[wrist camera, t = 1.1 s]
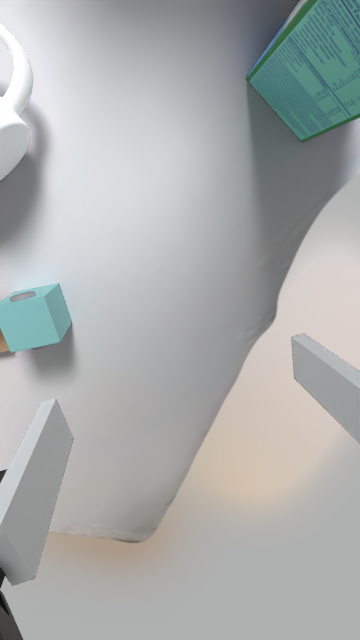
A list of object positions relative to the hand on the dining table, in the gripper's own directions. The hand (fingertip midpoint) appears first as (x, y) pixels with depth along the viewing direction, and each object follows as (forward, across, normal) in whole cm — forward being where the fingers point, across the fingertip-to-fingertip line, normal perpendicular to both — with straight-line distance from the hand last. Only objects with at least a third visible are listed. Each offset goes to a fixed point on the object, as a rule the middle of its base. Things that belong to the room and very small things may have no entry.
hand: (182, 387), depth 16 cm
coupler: (+21, -13, +2) cm, 25 cm away
